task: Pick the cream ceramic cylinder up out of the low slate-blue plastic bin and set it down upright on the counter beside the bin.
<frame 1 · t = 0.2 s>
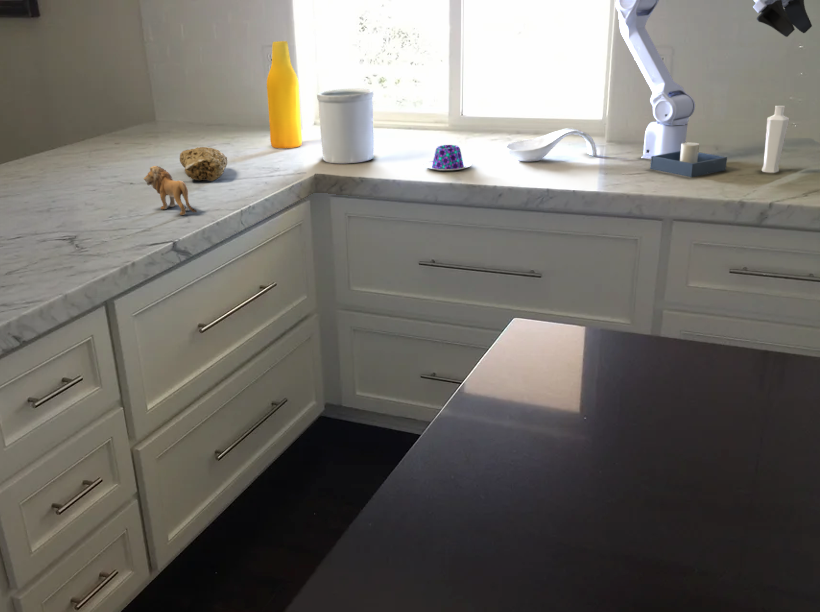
hand: (799, 31, 187), 31 cm above the table, tool tilted 45°, fingers open, 7 cm apart
lion figurine: (172, 211, 188), on the table
bin: (687, 171, 206), on the table
perfume bottle: (770, 173, 202), on the table
cream cylinder: (687, 169, 206), resting on bin
beer bottle: (286, 146, 255), on the table
spoon rest: (549, 159, 225), on the table
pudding: (447, 168, 219), on the table
utensil holder: (347, 159, 234), on the table
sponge: (203, 175, 221), on the table
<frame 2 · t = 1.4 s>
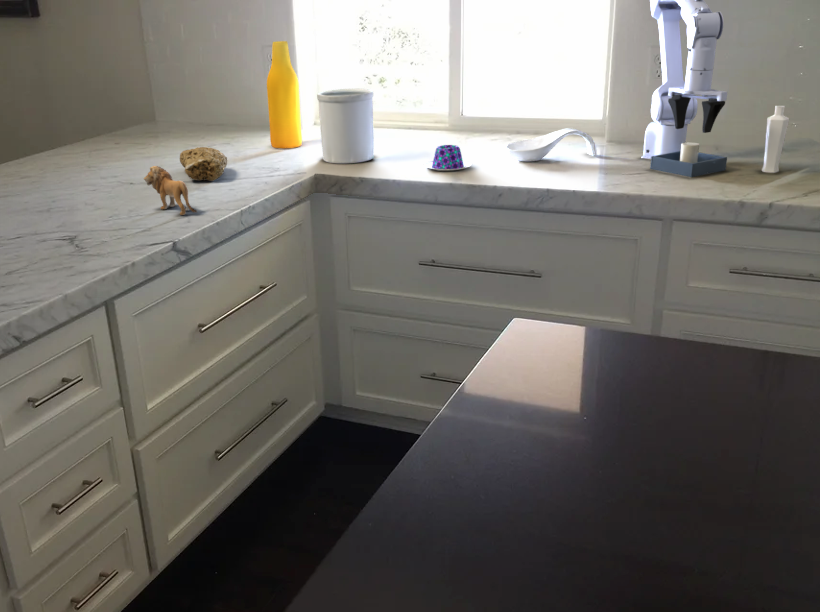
hand: (692, 130, 202), 10 cm above the table, tool pointing down, fingers open, 7 cm apart
nothing on the table moved.
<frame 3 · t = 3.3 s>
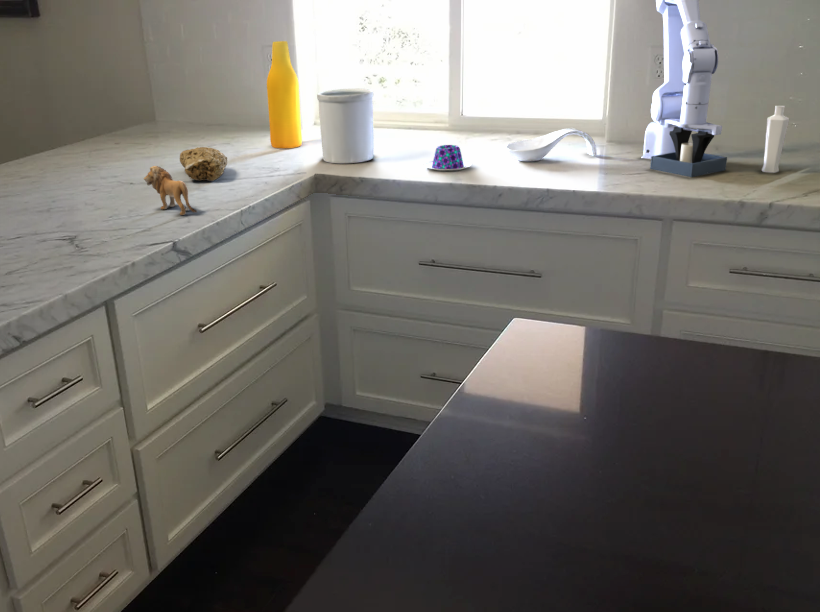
hand: (688, 162, 205), 2 cm above the table, tool pointing down, fingers closed on cream cylinder, 4 cm apart
cream cylinder: (687, 169, 206), resting on bin, touching gripper
everything else where it was.
when the fingers open (2 cm above the table, at t = 8.3 s): cream cylinder stays where it is, on the table.
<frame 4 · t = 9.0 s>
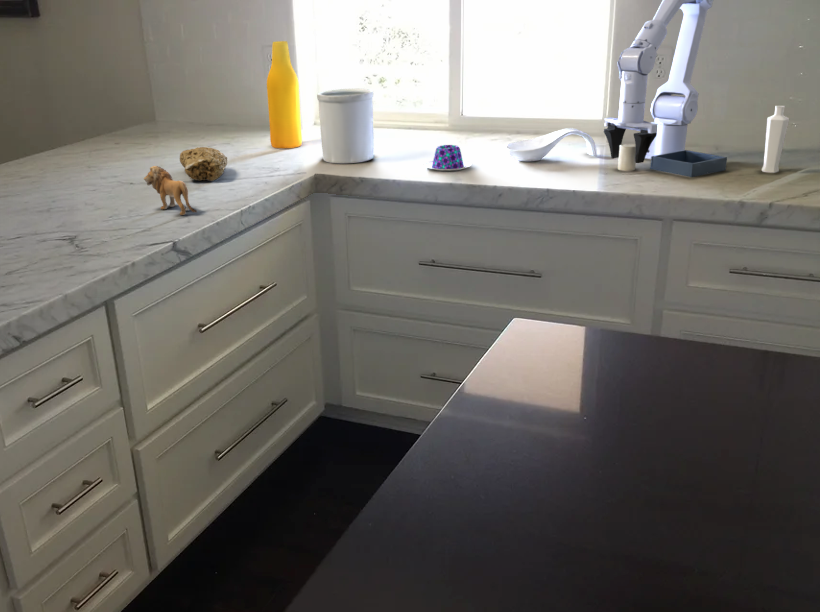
hand: (627, 160, 208), 2 cm above the table, tool pointing down, fingers open, 7 cm apart
cream cylinder: (626, 170, 209), on the table
everything else where it was.
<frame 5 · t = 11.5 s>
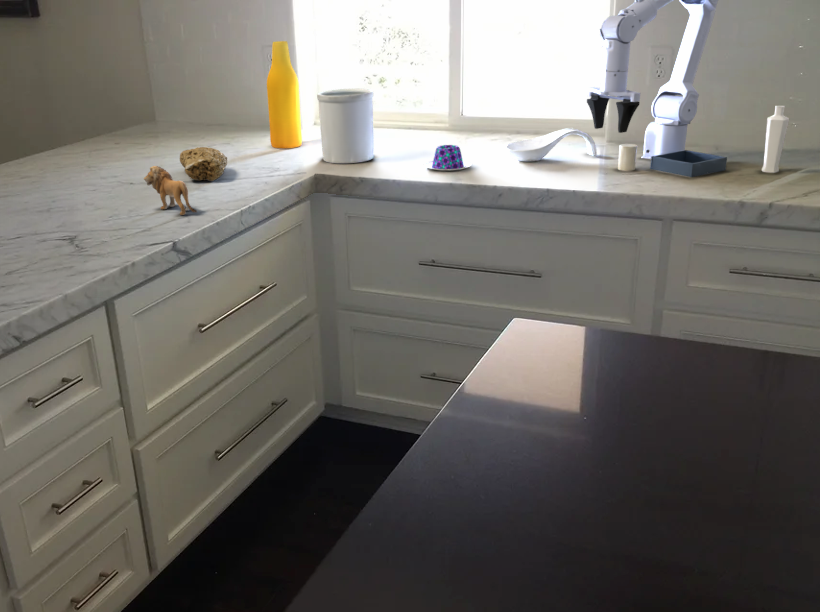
hand: (610, 130, 207), 9 cm above the table, tool pointing down, fingers open, 7 cm apart
nothing on the table moved.
at the end: cream cylinder inside the target area (0.1 cm from its centre), on the table; cream cylinder touching table; cream cylinder tilted 0° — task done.
